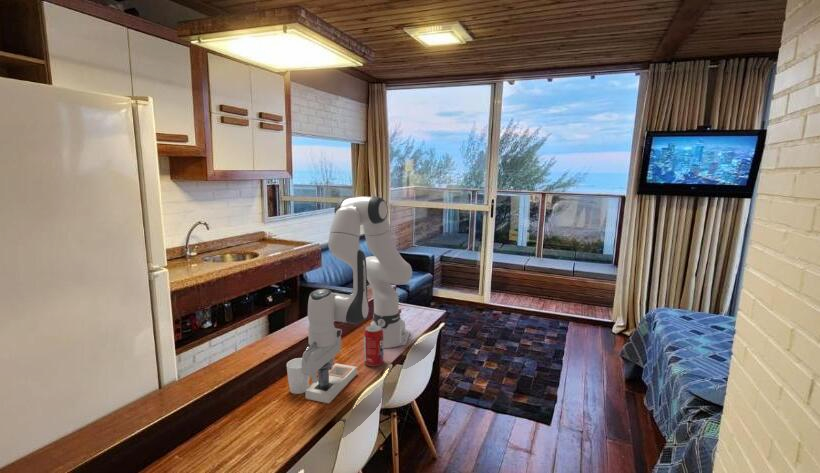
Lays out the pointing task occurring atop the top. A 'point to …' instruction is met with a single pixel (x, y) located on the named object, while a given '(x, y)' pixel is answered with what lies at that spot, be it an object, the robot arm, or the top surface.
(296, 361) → the white cup
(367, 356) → the soda can
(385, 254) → the robot arm
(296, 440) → the top surface
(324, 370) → the pin
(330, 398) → the dock board
